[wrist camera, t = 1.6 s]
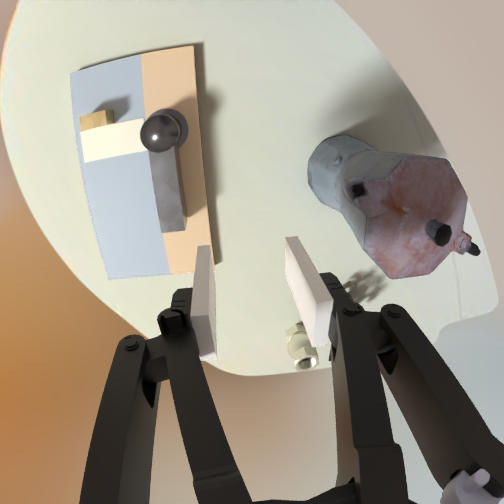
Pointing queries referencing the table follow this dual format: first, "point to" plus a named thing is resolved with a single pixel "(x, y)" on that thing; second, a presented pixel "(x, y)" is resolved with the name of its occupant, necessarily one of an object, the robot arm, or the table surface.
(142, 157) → the door panel
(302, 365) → the valve
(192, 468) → the robot arm
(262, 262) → the table surface
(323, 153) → the moka pot
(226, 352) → the table surface
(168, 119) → the latch bar
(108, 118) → the block
